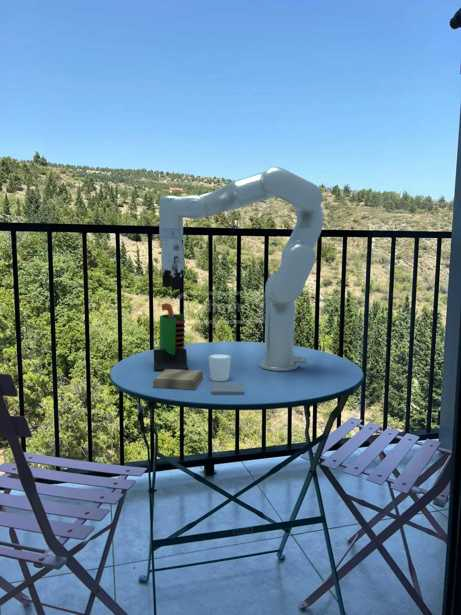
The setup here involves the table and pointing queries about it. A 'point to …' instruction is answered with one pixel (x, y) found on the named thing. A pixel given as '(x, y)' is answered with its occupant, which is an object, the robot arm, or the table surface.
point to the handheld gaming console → (170, 360)
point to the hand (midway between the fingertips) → (171, 288)
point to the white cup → (219, 367)
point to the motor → (171, 330)
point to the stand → (178, 379)
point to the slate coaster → (227, 388)
